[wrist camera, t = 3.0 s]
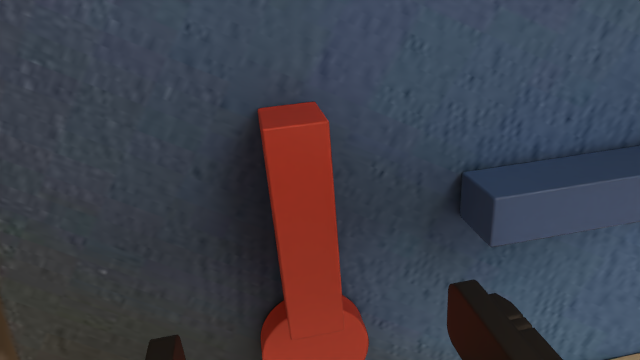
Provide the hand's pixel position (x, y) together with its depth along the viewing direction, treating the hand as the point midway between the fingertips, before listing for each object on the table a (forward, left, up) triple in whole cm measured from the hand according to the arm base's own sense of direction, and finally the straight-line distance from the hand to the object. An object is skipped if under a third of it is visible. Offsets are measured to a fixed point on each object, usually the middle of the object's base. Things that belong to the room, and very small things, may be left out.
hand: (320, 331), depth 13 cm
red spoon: (0, 0, -5) cm, 5 cm away
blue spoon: (-1, +12, -5) cm, 13 cm away
